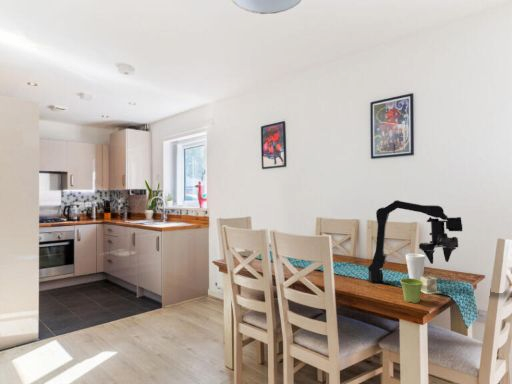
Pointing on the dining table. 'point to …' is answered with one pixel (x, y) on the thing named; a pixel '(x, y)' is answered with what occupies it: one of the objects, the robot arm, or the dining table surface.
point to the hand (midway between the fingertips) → (439, 262)
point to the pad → (430, 292)
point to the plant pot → (411, 289)
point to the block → (429, 284)
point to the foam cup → (415, 265)
